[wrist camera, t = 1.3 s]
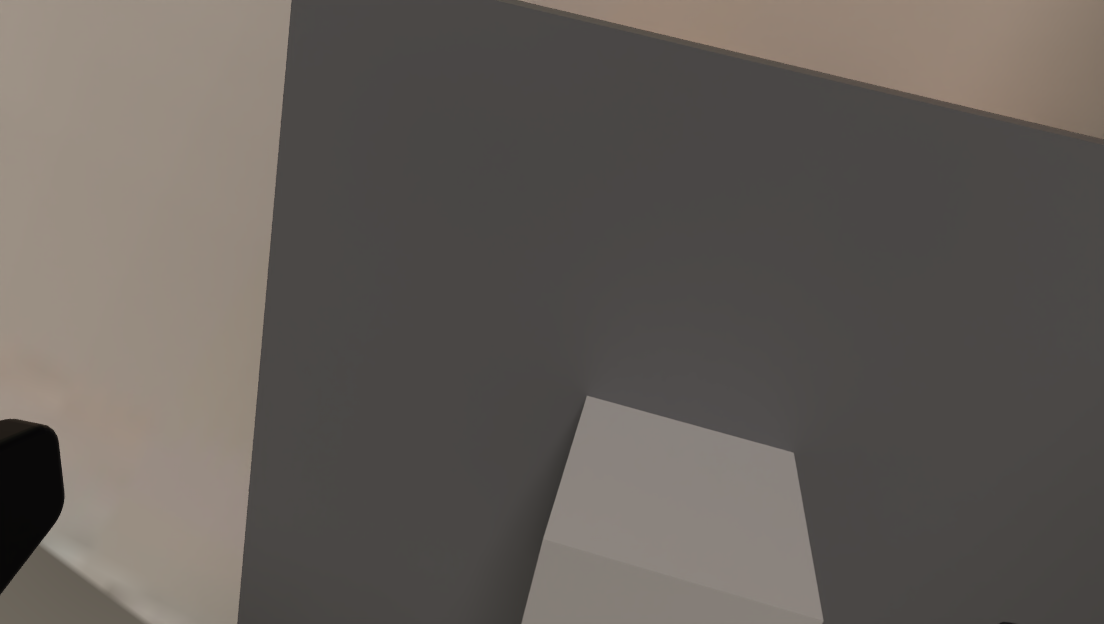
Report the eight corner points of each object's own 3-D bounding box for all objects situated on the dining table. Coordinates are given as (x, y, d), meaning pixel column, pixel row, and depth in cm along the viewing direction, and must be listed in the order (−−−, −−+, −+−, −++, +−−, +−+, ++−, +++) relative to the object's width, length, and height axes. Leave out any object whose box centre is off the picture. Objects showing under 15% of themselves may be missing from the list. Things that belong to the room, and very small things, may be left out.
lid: (1304, 186, 12) (1683, 314, 7) (917, 861, 18) (991, 1177, 13) (330, -44, 14) (119, -63, 9) (258, 655, 19) (109, 876, 14)
